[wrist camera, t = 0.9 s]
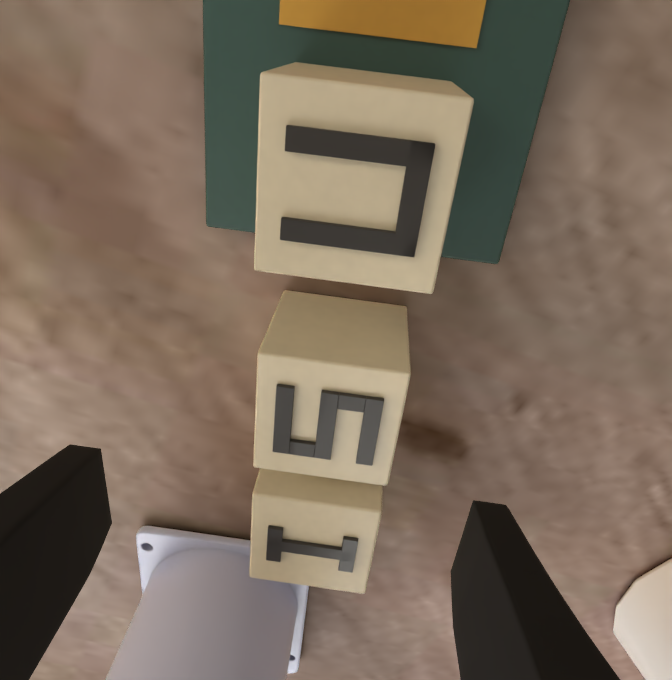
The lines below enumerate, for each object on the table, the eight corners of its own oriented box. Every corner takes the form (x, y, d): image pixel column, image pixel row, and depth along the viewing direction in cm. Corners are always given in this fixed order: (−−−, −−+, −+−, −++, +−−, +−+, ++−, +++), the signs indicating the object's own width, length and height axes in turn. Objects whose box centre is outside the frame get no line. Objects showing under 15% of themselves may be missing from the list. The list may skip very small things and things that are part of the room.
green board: (494, 255, 17) (499, 266, 16) (212, 219, 17) (204, 228, 16) (623, -227, 12) (640, -246, 11) (208, -272, 12) (195, -294, 11)
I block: (369, 506, 23) (364, 599, 19) (271, 492, 23) (247, 581, 19) (383, 428, 21) (382, 516, 17) (275, 413, 21) (250, 497, 17)
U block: (423, 236, 16) (433, 298, 12) (284, 218, 16) (251, 273, 12) (453, 80, 14) (477, 98, 10) (293, 61, 14) (257, 71, 10)
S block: (388, 405, 20) (387, 491, 16) (277, 390, 20) (251, 471, 17) (407, 305, 18) (412, 376, 14) (283, 289, 18) (255, 355, 14)
